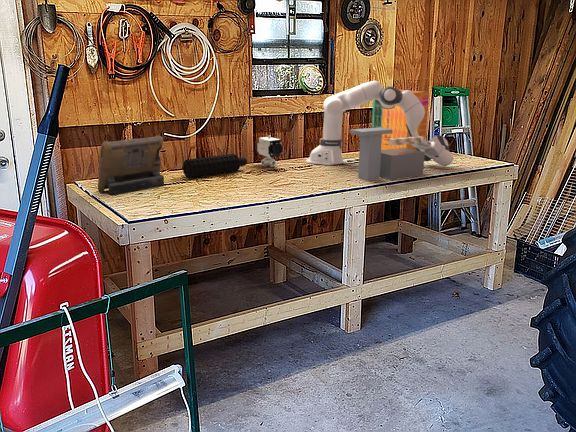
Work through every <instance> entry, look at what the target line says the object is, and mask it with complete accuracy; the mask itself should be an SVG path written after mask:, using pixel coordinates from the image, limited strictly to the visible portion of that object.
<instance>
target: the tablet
mask: <svg viewBox="0 0 576 432" xmlns="http://www.w3.org/2000/svg"><path fill="white" fill-rule="evenodd" d="M163 143H164V138H163V137H162V135H155V136H152V137H150V136H149V137H143V138H131V139H124V140H114V141H108V140H104V141H102V143H101V145H100V151H99V152H100V153H99V164H98V178H97V179H98V180H97V191H98V192H99V193H100V194H102V193H103V192H105V190H107V189H108V195H109V196H115V195H119V194H127V193H132V192H138V191H143V190H149V189H153V188H158V187H161V186H164V185H165V177H164V175H163V174H161V168H162V165H161V163H162V162H161V160H162V159H161V156H159V155H160V151H161V150H162V148H163Z"/></svg>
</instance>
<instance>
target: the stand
mask: <svg viewBox="0 0 576 432" xmlns="http://www.w3.org/2000/svg"><path fill="white" fill-rule="evenodd" d="M349 134H351V135H356V136H359V152H358V153H359V154H358V174H357V175H358V176H357V178H358V179H360V180H364V181H367V182H369V181H376V180H377V181H378V180H380V178H381V177H380V161H381V143H382V134H392V129H386V128H381V127H378V128H372V127H367V128H355V129H354V128H353V129H349Z"/></svg>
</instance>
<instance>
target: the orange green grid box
mask: <svg viewBox="0 0 576 432" xmlns="http://www.w3.org/2000/svg"><path fill="white" fill-rule="evenodd" d="M396 89H397V88H396ZM397 90H400V91H401V92H403V91H405V90H406V89H400V88H399V89H397ZM410 91H411V92H412V93H413V94H414V95H415V96H416V97H417V98H418V99H419V101H420V102H421V104H422V105H423V107H424V109H425V115H424V118H423V120H422V121H421V123H420V124H419V126H418V128H417V132H418V135H419V136H422V137H425V140H426V137H427V125H428V115H429V114H428V112H429V100H430V91H424V90H423V91H422V90H421V91H420V90H411V89H410ZM401 92H400V93H401ZM371 115H372V117H371V128H378V127H381V128H386V129H392V134H382V143H381V150H387V149H398V148H408V149H413V150H416V148H415V147H414V146H413V145H411V144H403V145H389V139H392V138H404V137H410V135H409V133H408V130H407V127H406V123H407V118H406V115H405V114H404V112H403V110H402V109H401V108H400V107H399V106H396V105H395V107H393V108H392V109H384V108H383V107H382V106H381V105H380V104H379V103H378V102H377V100H372V114H371ZM426 141H427V140H426Z"/></svg>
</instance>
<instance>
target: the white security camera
mask: <svg viewBox="0 0 576 432" xmlns="http://www.w3.org/2000/svg"><path fill="white" fill-rule="evenodd" d="M283 149H284V148H283V145H282V139H280V138H275V137H271V135H268V136H261V137H257V142H256V152H257V154H258V155H261V156H264V158H263V159H261V163H260V164H261V166H262V167H270V168H274V167H276V165H277V161H276V160H275V159H274V158H277V157H282V152H283Z"/></svg>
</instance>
